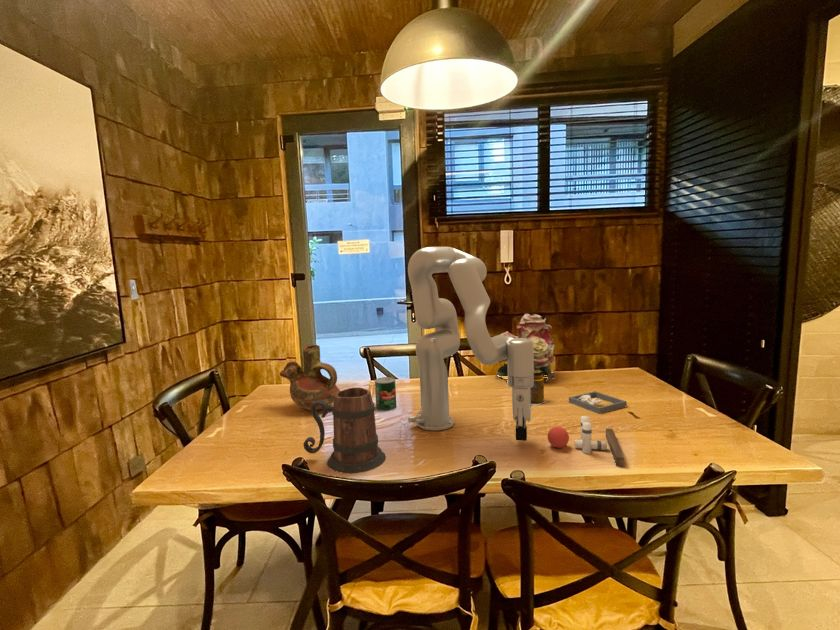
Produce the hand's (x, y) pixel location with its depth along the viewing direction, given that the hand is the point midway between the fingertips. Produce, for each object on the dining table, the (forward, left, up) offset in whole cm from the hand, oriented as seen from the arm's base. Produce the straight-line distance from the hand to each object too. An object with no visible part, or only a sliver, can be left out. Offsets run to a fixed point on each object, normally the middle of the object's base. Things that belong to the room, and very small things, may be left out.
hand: (521, 439), depth 136 cm
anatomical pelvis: (+43, +15, -2) cm, 45 cm away
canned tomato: (-22, +53, -2) cm, 57 cm away
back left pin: (+16, -10, -2) cm, 19 cm away
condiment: (+29, +28, -2) cm, 40 cm away
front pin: (+12, -10, 0) cm, 15 cm away
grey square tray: (+46, +13, -2) cm, 48 cm away
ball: (+8, -7, +2) cm, 11 cm away
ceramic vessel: (-47, +68, -2) cm, 83 cm away
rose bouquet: (+47, +53, -2) cm, 71 cm away
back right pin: (+12, -14, -2) cm, 19 cm away
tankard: (-49, +18, -2) cm, 53 cm away
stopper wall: (+20, -17, -2) cm, 26 cm away
